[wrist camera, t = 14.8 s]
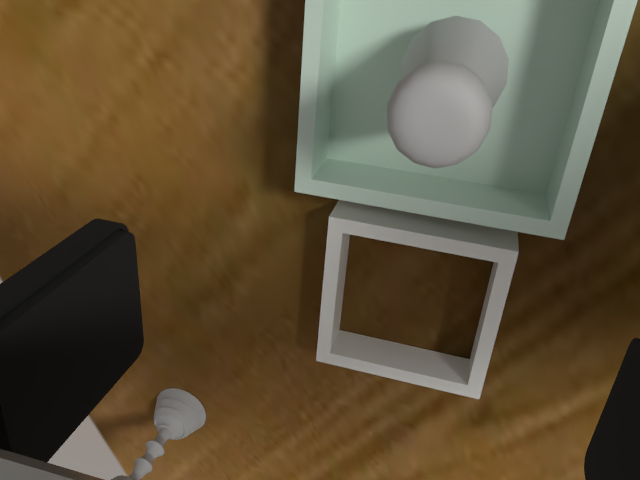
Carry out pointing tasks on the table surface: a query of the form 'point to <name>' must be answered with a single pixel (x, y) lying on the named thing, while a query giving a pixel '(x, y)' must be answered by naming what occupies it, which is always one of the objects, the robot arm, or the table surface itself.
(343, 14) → the green bin
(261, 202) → the table surface
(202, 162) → the table surface
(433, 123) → the salt shaker
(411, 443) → the table surface
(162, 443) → the chalice
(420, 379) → the grey square frame
